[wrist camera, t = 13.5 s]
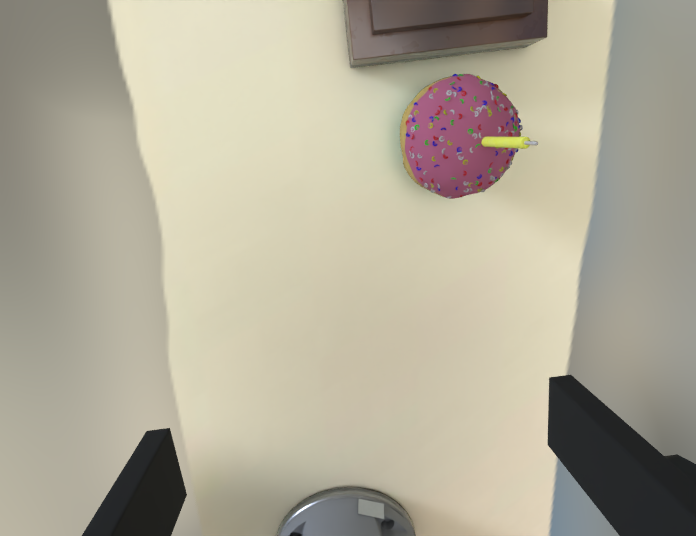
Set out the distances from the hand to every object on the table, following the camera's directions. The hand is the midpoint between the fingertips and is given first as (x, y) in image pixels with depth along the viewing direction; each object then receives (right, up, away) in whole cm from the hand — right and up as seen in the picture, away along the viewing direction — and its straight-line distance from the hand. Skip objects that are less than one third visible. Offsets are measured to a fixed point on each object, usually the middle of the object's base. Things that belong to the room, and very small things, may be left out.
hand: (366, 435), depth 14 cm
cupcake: (+7, +16, +20) cm, 27 cm away
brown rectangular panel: (+6, +25, +18) cm, 31 cm away
